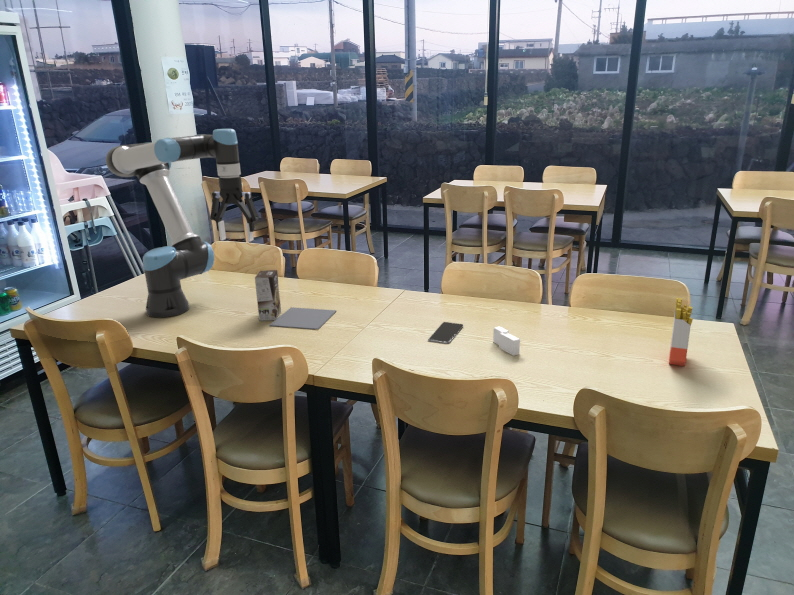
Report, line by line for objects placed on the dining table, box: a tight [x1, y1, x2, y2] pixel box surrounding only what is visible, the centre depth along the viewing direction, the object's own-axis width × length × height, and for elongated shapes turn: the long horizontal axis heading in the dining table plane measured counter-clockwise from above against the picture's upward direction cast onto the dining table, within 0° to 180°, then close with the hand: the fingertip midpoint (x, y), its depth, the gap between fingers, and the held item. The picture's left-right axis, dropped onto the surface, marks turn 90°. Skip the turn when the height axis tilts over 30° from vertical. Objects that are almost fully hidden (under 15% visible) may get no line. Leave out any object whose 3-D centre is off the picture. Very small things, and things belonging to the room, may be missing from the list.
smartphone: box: [427, 321, 464, 345], centre depth 200 cm, size 7×1×16 cm
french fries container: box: [668, 297, 694, 367], centre depth 173 cm, size 5×11×18 cm, turn 156°
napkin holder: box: [492, 325, 521, 357], centre depth 188 cm, size 15×11×6 cm
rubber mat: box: [269, 306, 337, 330], centre depth 217 cm, size 18×18×1 cm
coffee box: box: [254, 269, 282, 321], centre depth 218 cm, size 9×6×16 cm
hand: (237, 240), depth 214 cm, fingers open, 10 cm apart
